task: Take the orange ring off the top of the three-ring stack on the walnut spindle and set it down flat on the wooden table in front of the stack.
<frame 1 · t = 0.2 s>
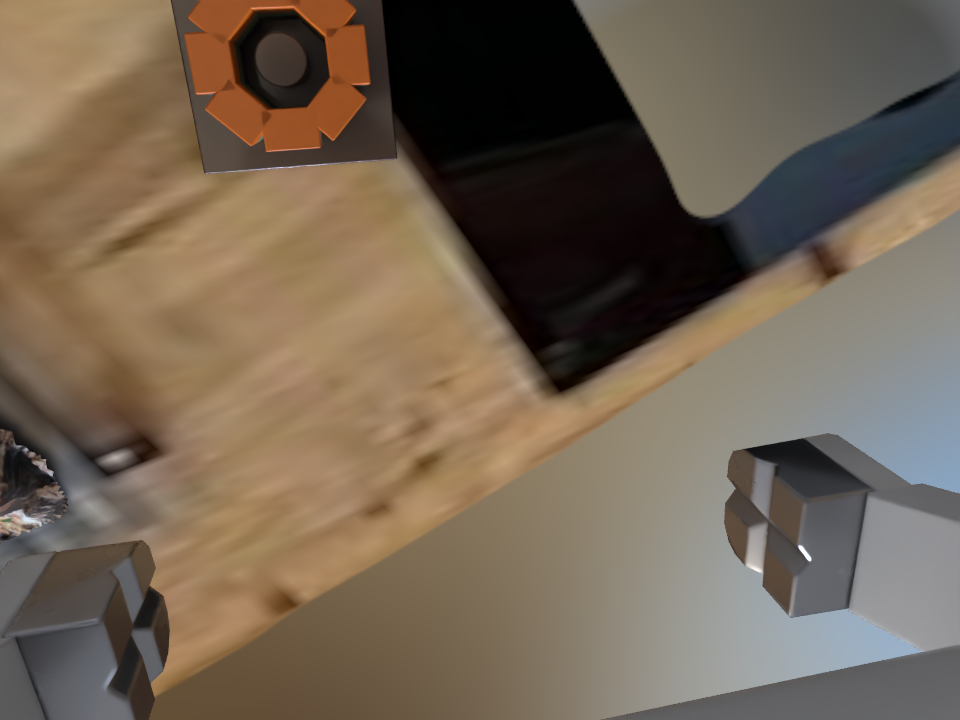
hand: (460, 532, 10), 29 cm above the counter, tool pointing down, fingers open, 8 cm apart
charcoal ring: (288, 64, 32), point 1 cm above the counter, touching sage ring, spindle
sage ring: (285, 62, 30), point 3 cm above the counter, touching charcoal ring, orange ring
orange ring: (283, 61, 29), point 5 cm above the counter, touching sage ring
spindle: (290, 65, 33), on the counter
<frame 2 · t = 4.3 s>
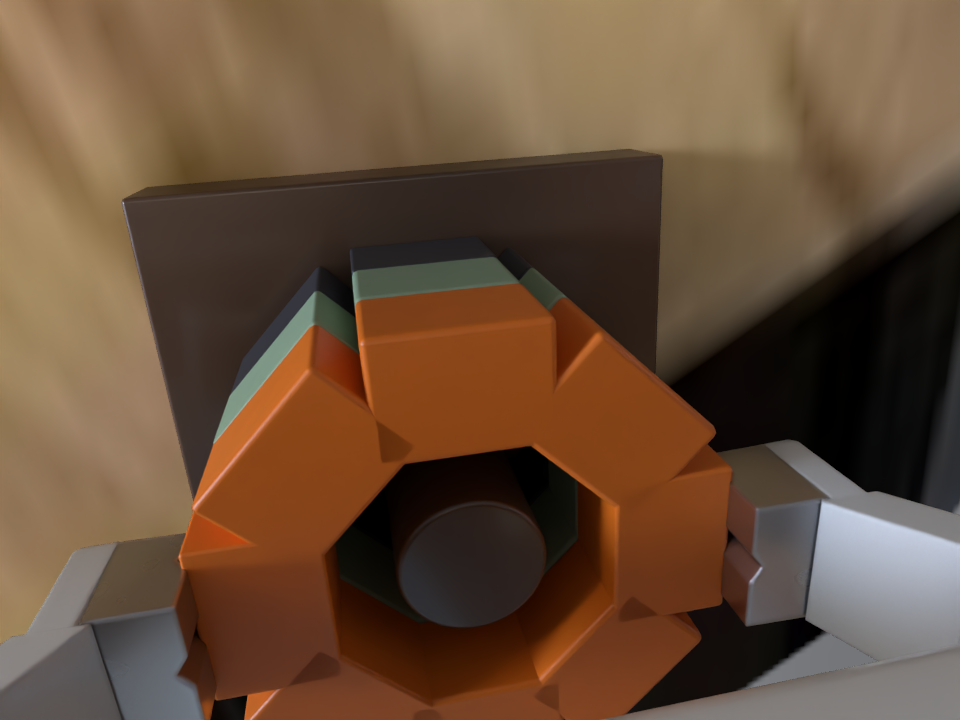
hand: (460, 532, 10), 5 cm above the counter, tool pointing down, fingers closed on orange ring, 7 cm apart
charcoal ring: (430, 420, 13), point 1 cm above the counter, touching sage ring, spindle
sage ring: (442, 461, 12), point 3 cm above the counter, touching charcoal ring, orange ring
orange ring: (458, 514, 10), point 5 cm above the counter, touching gripper, sage ring
spindle: (421, 389, 15), on the counter
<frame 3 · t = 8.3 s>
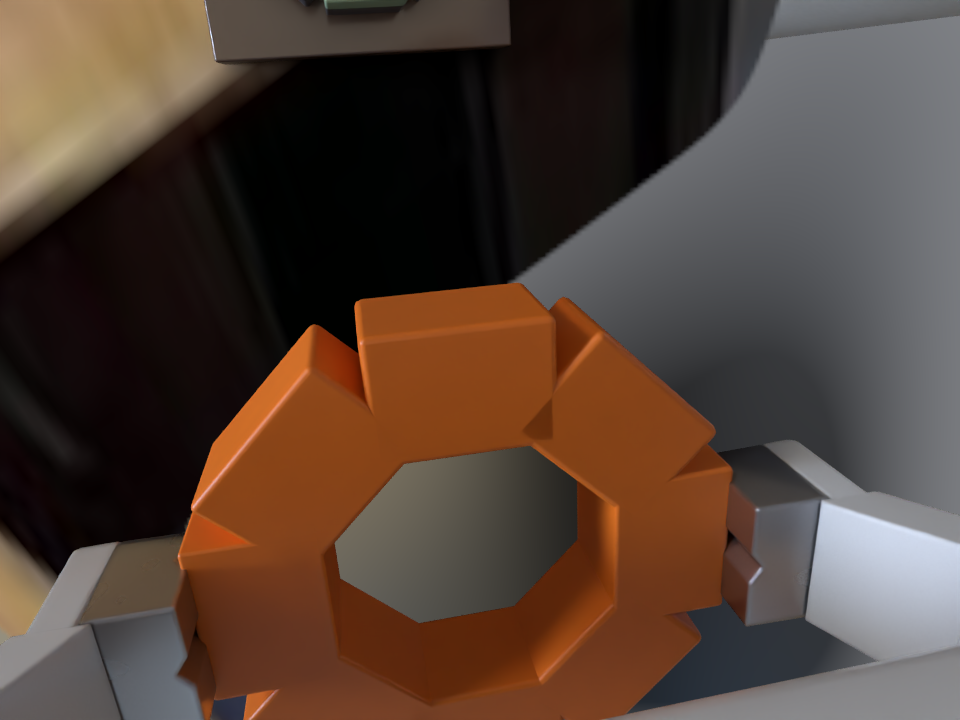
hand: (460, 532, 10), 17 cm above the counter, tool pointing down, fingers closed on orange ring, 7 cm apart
orange ring: (457, 513, 10), point 16 cm above the counter, touching gripper
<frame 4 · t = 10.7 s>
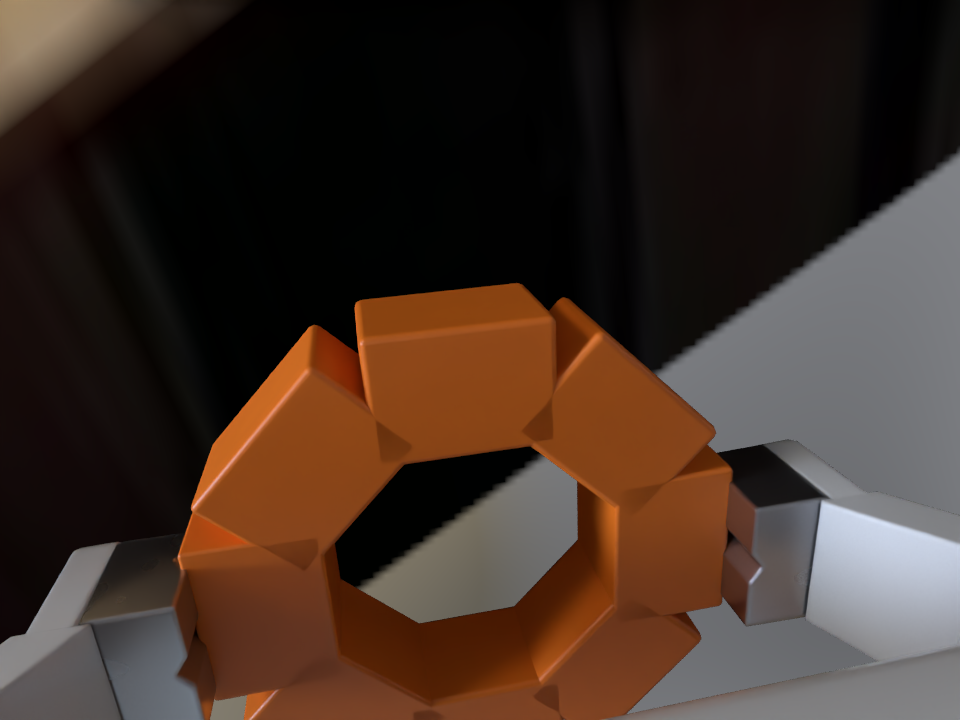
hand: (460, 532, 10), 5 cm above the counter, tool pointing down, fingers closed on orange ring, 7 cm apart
orange ring: (458, 514, 10), point 5 cm above the counter, touching gripper
when the fingers open (0 cm above the counter, at t = 12.5 s): orange ring stays where it is, on the counter.
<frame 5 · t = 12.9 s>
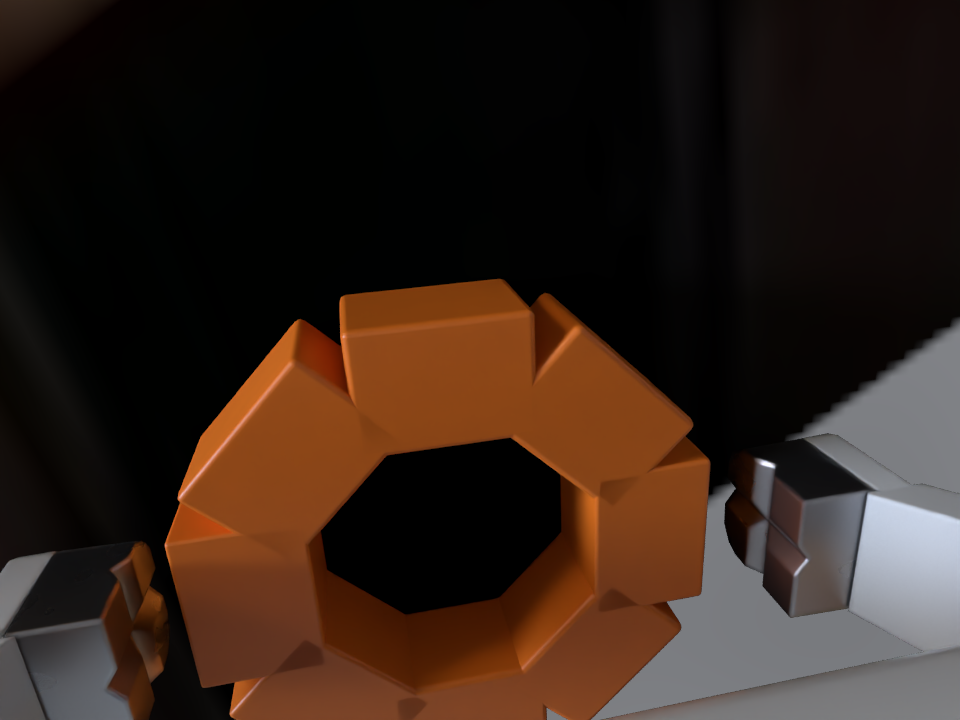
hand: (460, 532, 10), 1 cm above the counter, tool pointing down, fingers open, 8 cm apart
orange ring: (442, 506, 10), on the counter
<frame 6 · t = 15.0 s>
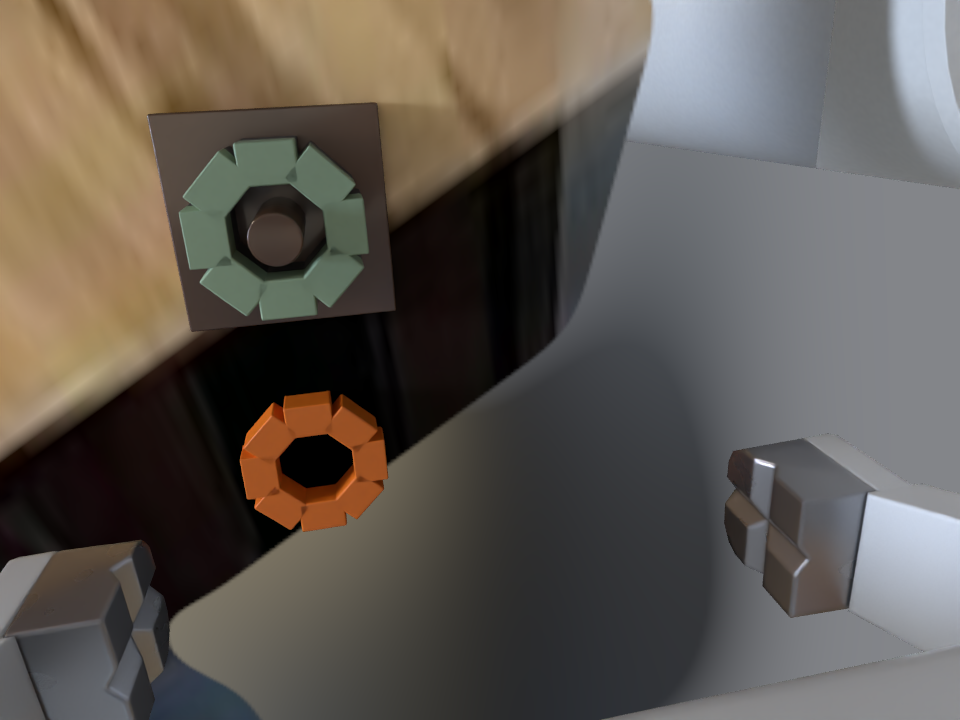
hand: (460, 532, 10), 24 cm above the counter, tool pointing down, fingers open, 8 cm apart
charcoal ring: (281, 220, 30), point 1 cm above the counter, touching sage ring, spindle
sage ring: (279, 226, 28), point 3 cm above the counter, touching charcoal ring
orange ring: (316, 454, 36), on the counter
spindle: (283, 215, 31), on the counter
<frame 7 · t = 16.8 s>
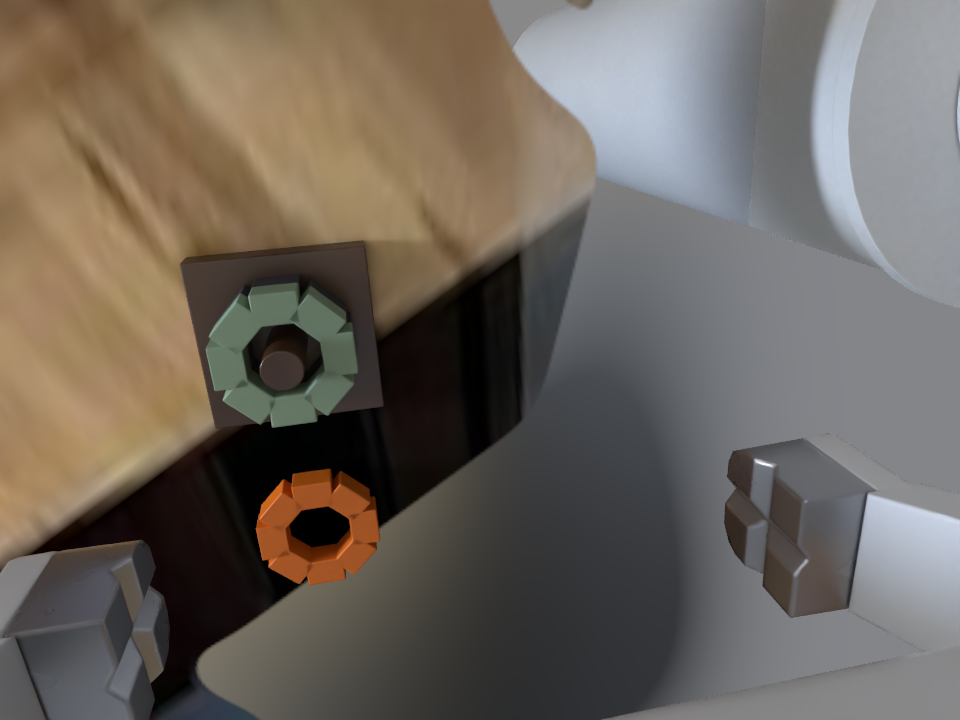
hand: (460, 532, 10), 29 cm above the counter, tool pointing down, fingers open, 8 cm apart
charcoal ring: (288, 339, 37), point 1 cm above the counter, touching sage ring, spindle
sage ring: (286, 350, 35), point 3 cm above the counter, touching charcoal ring
orange ring: (320, 519, 42), on the counter
spindle: (289, 330, 38), on the counter
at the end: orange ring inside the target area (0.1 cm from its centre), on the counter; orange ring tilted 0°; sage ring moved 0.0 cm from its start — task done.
